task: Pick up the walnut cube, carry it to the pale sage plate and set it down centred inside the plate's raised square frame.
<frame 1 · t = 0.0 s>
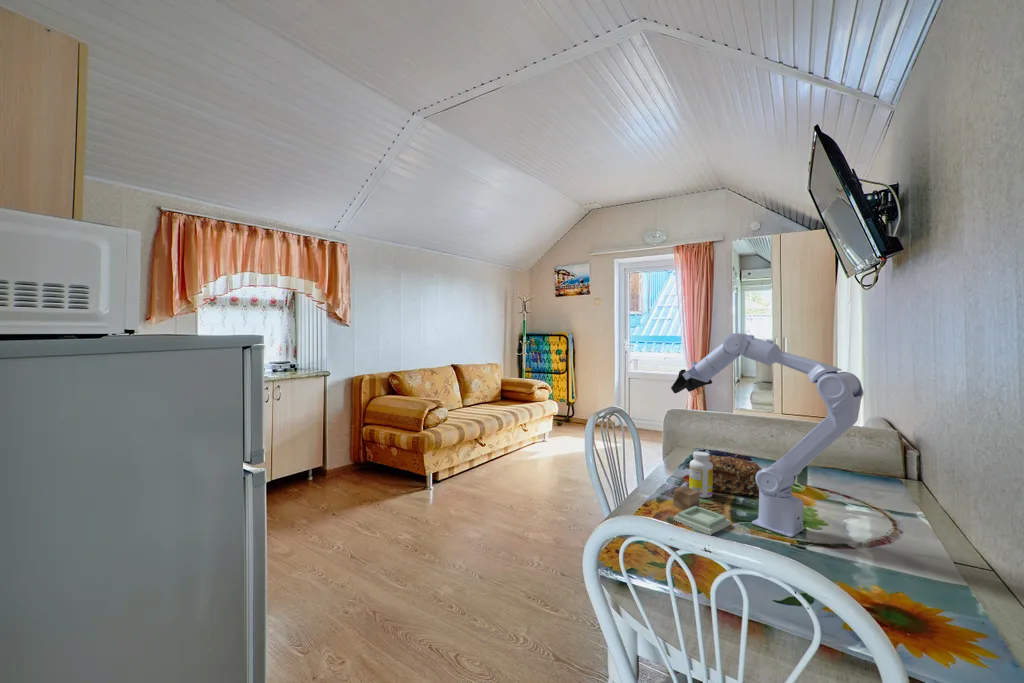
hand: (680, 389, 134), 32 cm above the table, tool tilted 50°, fingers open, 7 cm apart
plate: (701, 522, 114), on the table
supplement bottle: (700, 495, 134), on the table
bread: (727, 489, 140), on the table
cube: (686, 507, 124), on the table
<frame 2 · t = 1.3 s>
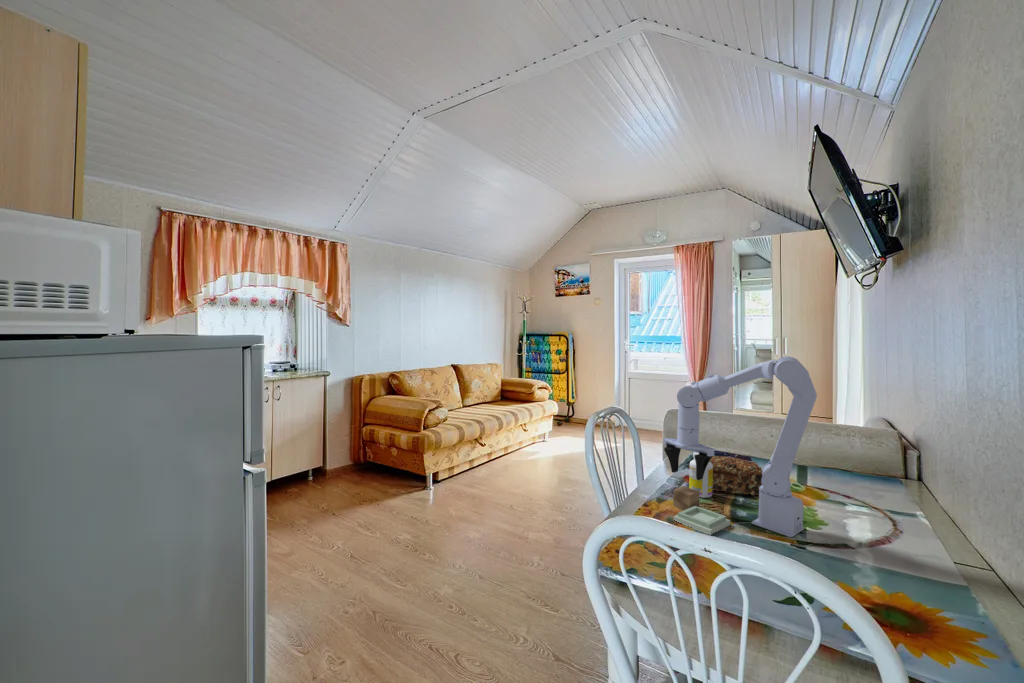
hand: (686, 475, 124), 9 cm above the table, tool pointing down, fingers open, 7 cm apart
nothing on the table moved.
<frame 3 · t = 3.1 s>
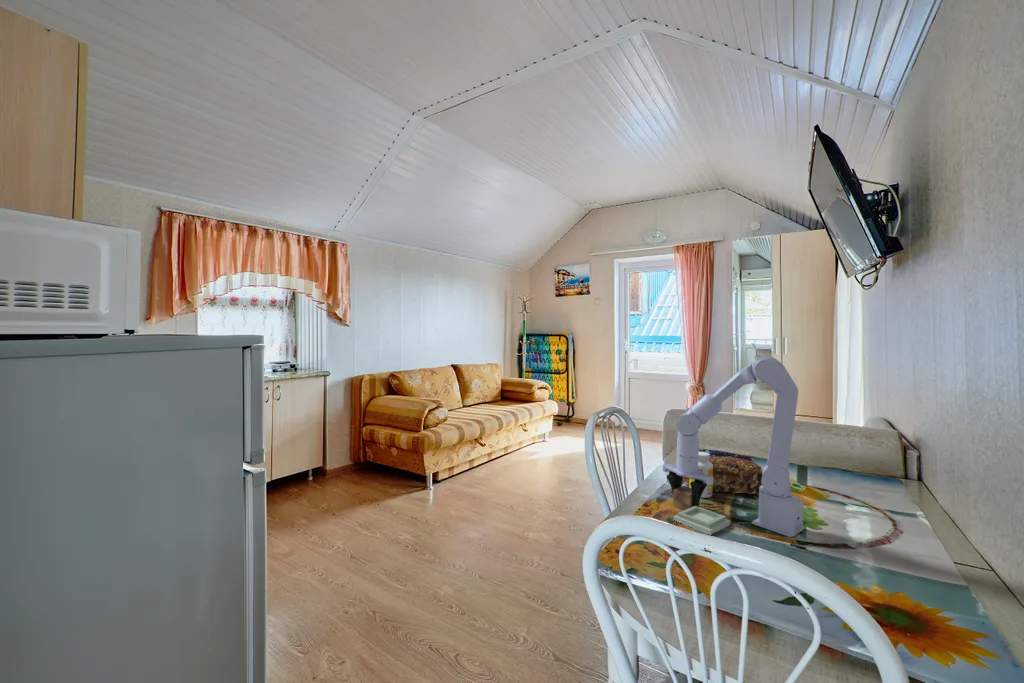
hand: (686, 502, 124), 1 cm above the table, tool pointing down, fingers closed on cube, 5 cm apart
cube: (686, 507, 124), on the table, touching gripper
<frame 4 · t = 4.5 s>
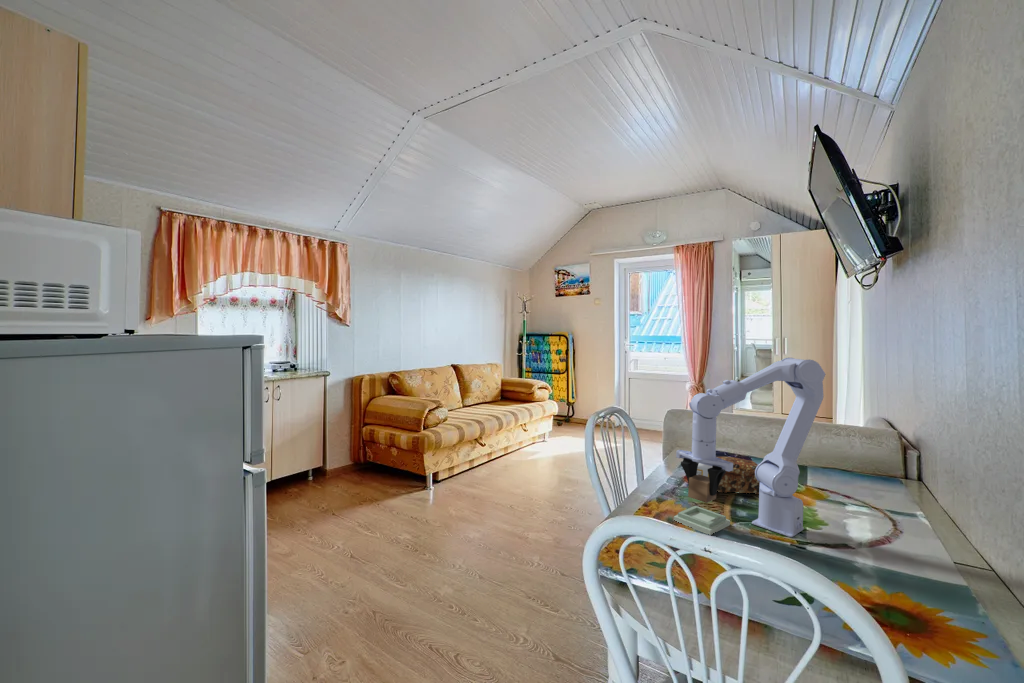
hand: (702, 491, 114), 8 cm above the table, tool pointing down, fingers closed on cube, 5 cm apart
cube: (702, 497, 114), point 7 cm above the table, touching gripper
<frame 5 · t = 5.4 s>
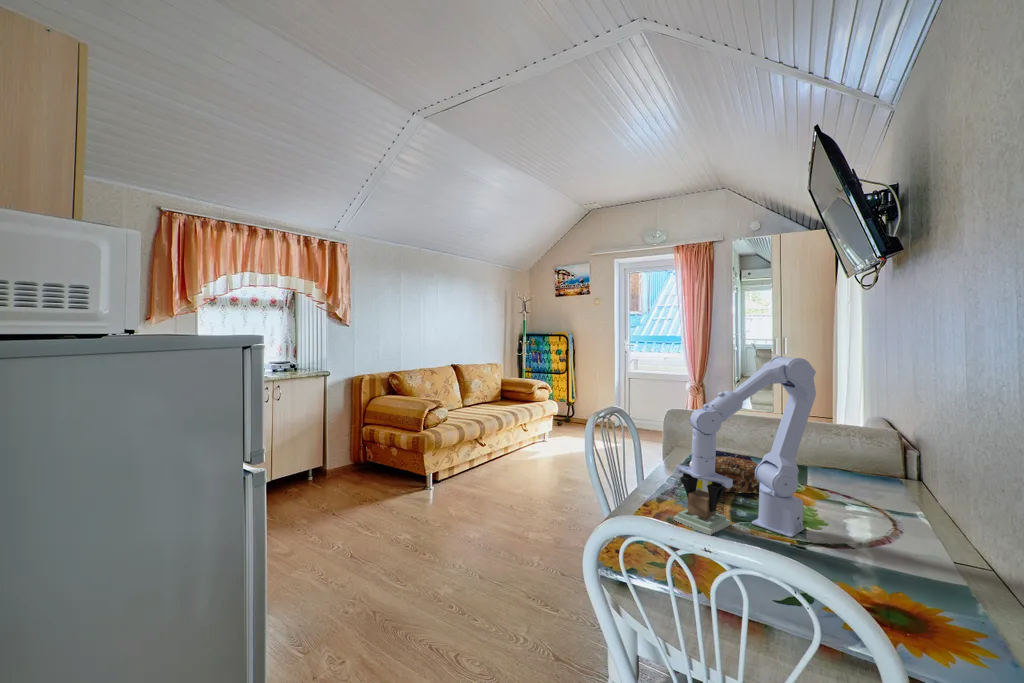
hand: (702, 507, 114), 4 cm above the table, tool pointing down, fingers closed on cube, 5 cm apart
cube: (701, 513, 114), point 3 cm above the table, touching gripper
when the fingers open (4 cm above the table, at t = 6.1 s): cube drops 1 cm, resting on plate.
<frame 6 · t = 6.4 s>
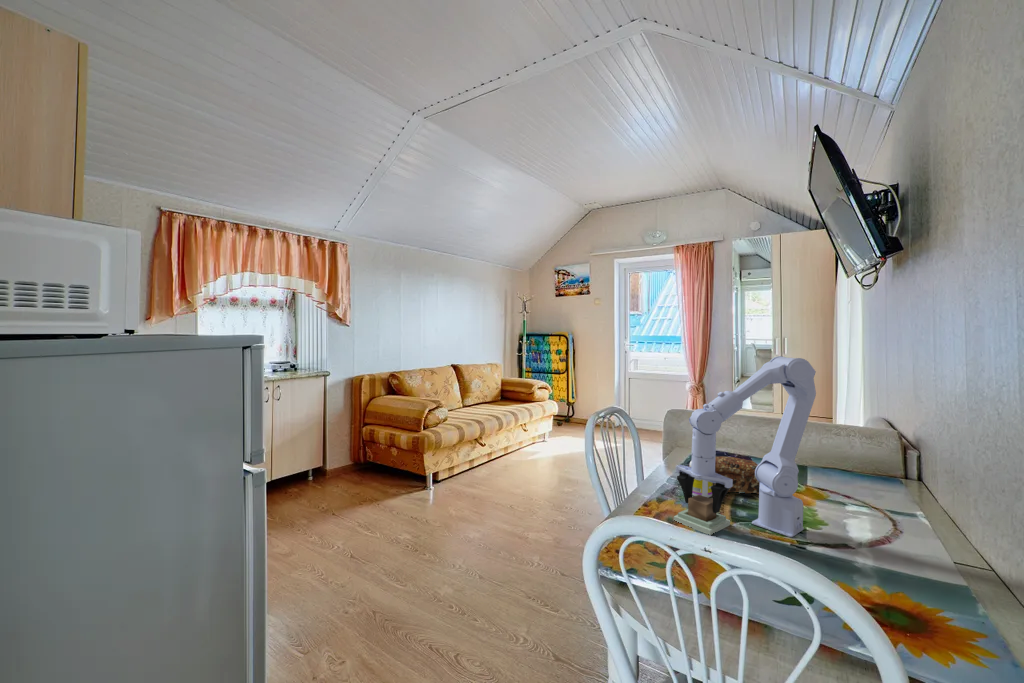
hand: (702, 507, 114), 4 cm above the table, tool pointing down, fingers open, 7 cm apart
cube: (702, 518, 114), point 1 cm above the table, touching plate
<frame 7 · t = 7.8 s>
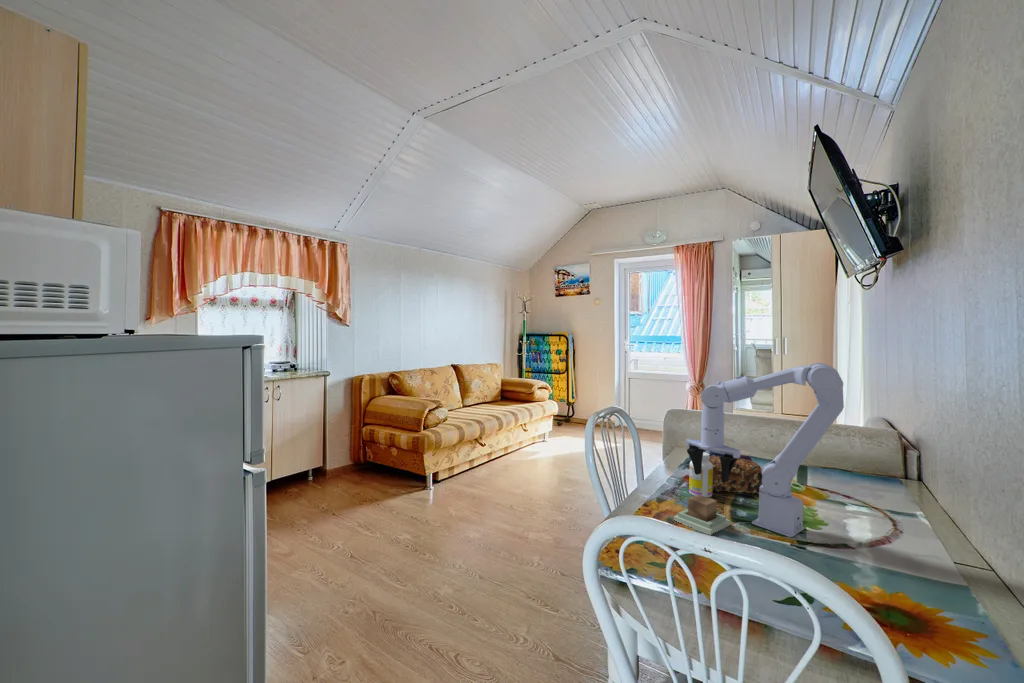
hand: (711, 477, 120), 10 cm above the table, tool pointing down, fingers open, 7 cm apart
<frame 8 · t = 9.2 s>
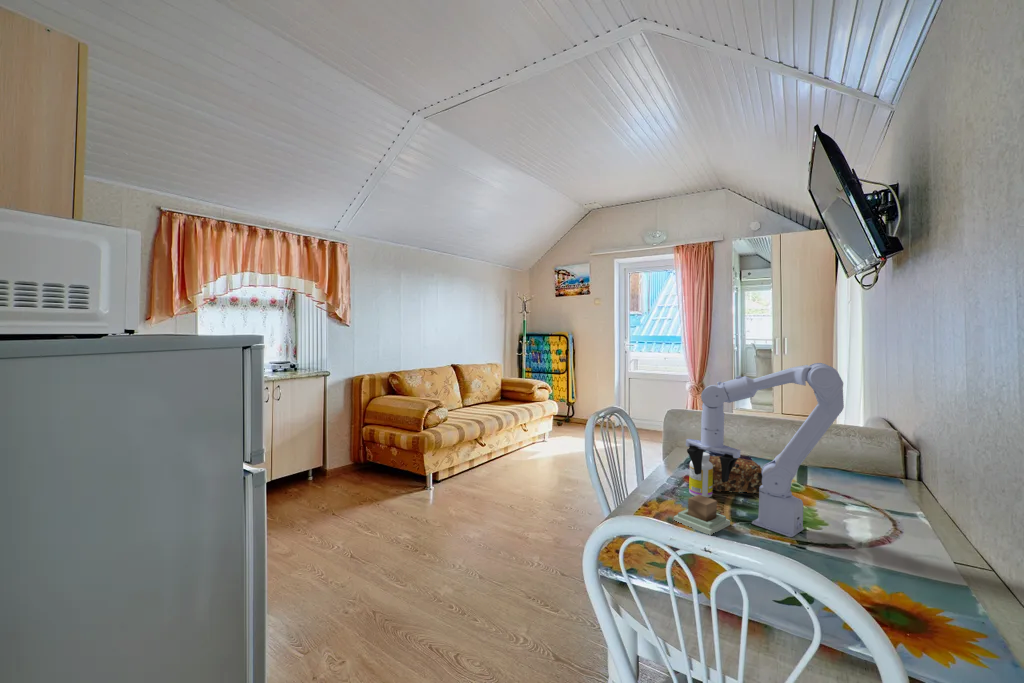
hand: (711, 477, 120), 10 cm above the table, tool pointing down, fingers open, 7 cm apart
at the end: cube 0.1 cm off-centre on the plate, point 1.2 cm above the plate's base; cube tilted 0°; the gripper is holding nothing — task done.
